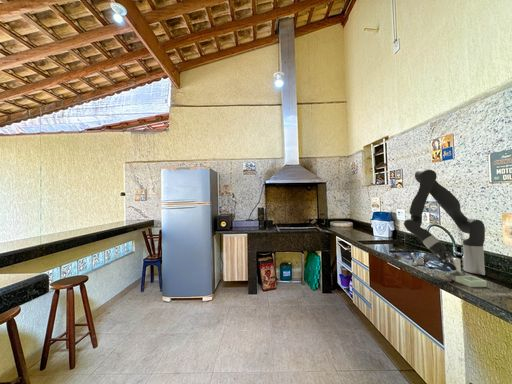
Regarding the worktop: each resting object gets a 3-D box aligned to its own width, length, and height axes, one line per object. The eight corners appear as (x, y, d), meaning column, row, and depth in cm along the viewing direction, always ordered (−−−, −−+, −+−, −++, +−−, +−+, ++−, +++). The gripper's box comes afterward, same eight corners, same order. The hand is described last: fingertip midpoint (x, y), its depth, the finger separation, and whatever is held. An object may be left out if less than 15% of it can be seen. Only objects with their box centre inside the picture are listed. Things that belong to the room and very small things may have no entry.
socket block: (445, 278, 135) (444, 272, 135) (457, 278, 135) (457, 272, 135) (456, 283, 127) (455, 277, 127) (469, 282, 127) (469, 276, 127)
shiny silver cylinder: (449, 277, 133) (448, 257, 134) (457, 277, 133) (456, 257, 134) (456, 279, 129) (455, 259, 129) (464, 279, 129) (463, 259, 129)
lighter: (422, 264, 165) (421, 252, 165) (423, 264, 163) (422, 253, 164) (411, 263, 166) (410, 252, 167) (412, 264, 165) (411, 253, 165)
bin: (455, 283, 127) (455, 275, 127) (471, 283, 127) (471, 275, 127) (470, 289, 118) (469, 281, 118) (487, 289, 118) (486, 281, 118)
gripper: (433, 242, 135) (459, 267, 124) (444, 240, 142) (469, 263, 131) (423, 249, 139) (447, 274, 129) (434, 247, 146) (458, 270, 136)
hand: (458, 268), depth 130 cm, fingers open, 8 cm apart
